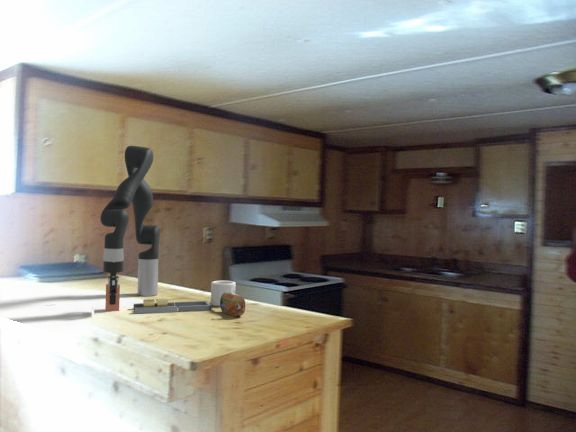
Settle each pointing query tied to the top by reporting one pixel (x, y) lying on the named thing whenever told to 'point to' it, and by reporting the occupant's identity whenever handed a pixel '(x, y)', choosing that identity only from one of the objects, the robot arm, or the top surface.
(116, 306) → the pink rectangular block
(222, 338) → the top surface
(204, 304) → the tray
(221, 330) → the top surface
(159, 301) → the khaki cube
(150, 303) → the tan cubic piece
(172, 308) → the slot bed
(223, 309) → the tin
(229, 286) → the mug
